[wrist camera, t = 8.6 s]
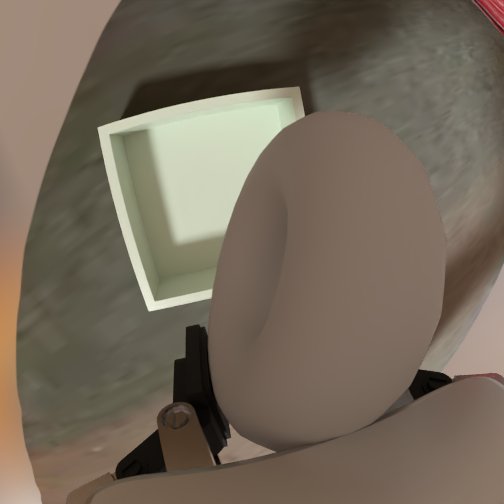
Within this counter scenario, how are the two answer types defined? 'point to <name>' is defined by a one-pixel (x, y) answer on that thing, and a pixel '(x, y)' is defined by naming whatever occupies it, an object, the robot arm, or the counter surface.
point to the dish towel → (493, 12)
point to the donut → (325, 283)
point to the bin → (187, 183)
